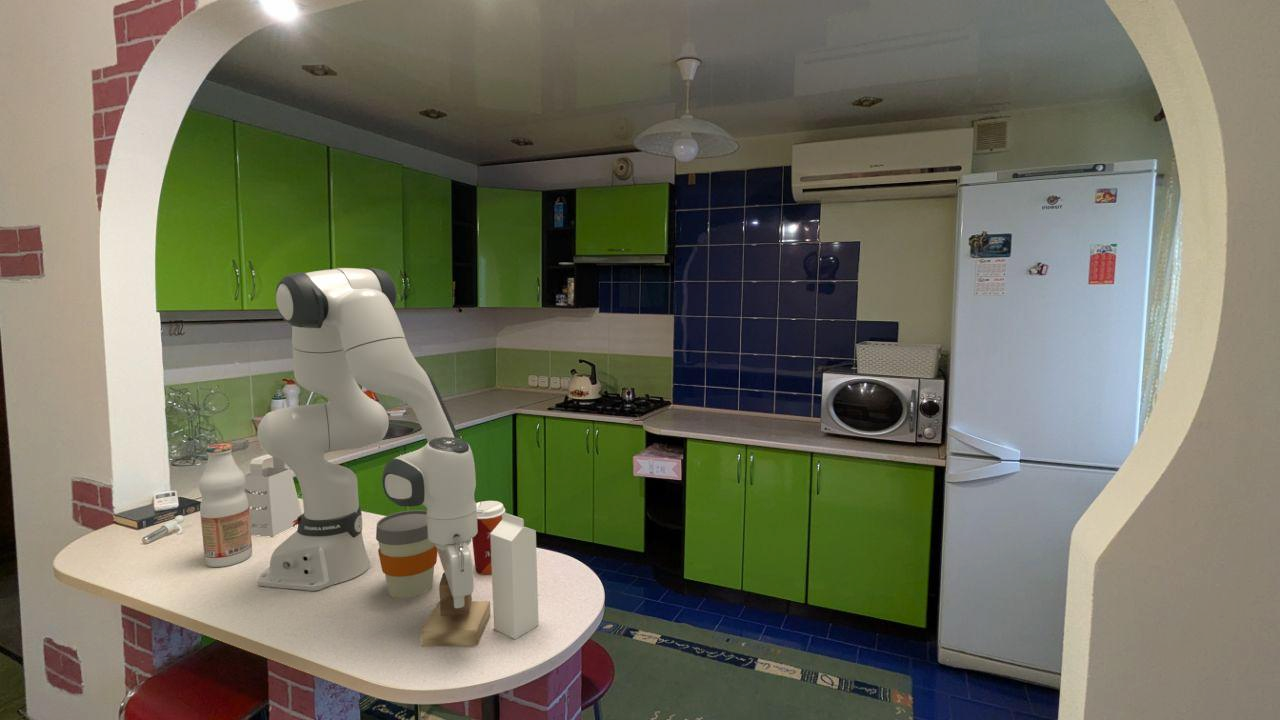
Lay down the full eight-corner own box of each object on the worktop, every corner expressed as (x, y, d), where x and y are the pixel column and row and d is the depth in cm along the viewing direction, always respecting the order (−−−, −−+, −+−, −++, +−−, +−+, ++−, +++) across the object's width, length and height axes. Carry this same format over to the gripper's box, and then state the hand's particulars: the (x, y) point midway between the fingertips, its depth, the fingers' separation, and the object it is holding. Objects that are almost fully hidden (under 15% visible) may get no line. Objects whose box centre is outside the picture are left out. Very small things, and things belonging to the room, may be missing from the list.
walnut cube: (440, 616, 108) (439, 585, 107) (444, 602, 113) (443, 572, 112) (468, 613, 109) (467, 582, 108) (471, 599, 114) (470, 570, 113)
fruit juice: (196, 569, 137) (184, 451, 134) (218, 552, 146) (208, 441, 143) (240, 566, 138) (230, 449, 135) (259, 549, 148) (250, 439, 144)
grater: (239, 534, 157) (233, 460, 155) (272, 519, 167) (266, 450, 165) (273, 537, 155) (267, 463, 153) (304, 522, 165) (298, 452, 163)
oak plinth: (421, 646, 106) (420, 630, 106) (439, 616, 116) (438, 601, 116) (477, 645, 106) (476, 629, 106) (490, 615, 116) (489, 601, 116)
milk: (517, 615, 116) (514, 507, 114) (539, 625, 113) (536, 513, 111) (493, 629, 112) (489, 516, 109) (514, 640, 108) (511, 523, 106)
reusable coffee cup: (417, 605, 120) (413, 534, 119) (366, 597, 124) (361, 528, 122) (453, 577, 132) (449, 512, 131) (405, 570, 136) (401, 507, 134)
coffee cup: (498, 578, 131) (495, 513, 130) (463, 575, 133) (461, 511, 131) (513, 562, 139) (511, 500, 138) (481, 559, 141) (478, 498, 139)
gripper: (480, 544, 101) (483, 620, 103) (461, 505, 119) (464, 570, 121) (442, 551, 98) (446, 629, 100) (428, 510, 117) (431, 577, 118)
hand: (455, 597), depth 111 cm, fingers closed on walnut cube, 6 cm apart
